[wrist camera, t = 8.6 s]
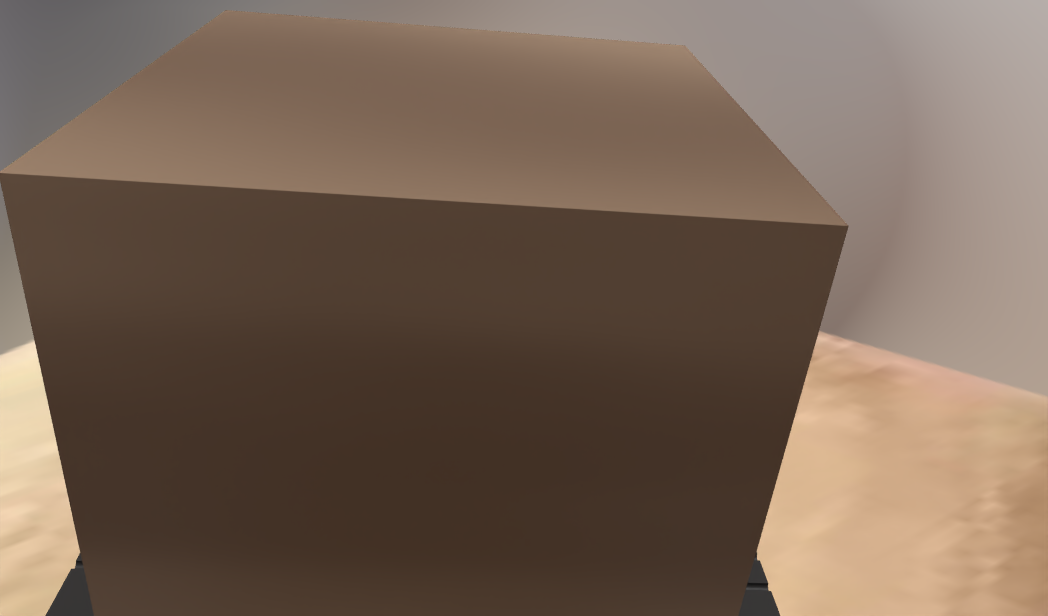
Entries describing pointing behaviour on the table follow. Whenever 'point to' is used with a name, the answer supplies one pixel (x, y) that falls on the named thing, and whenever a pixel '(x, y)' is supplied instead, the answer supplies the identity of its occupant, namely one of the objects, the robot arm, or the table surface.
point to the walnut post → (419, 324)
